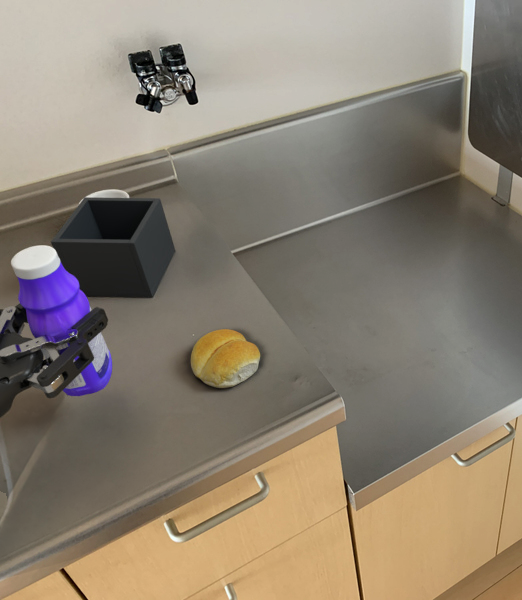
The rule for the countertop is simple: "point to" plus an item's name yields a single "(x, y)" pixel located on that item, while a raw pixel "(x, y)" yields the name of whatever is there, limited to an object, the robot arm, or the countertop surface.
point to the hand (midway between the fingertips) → (76, 304)
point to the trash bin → (116, 246)
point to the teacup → (108, 194)
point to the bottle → (59, 311)
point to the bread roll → (224, 358)
